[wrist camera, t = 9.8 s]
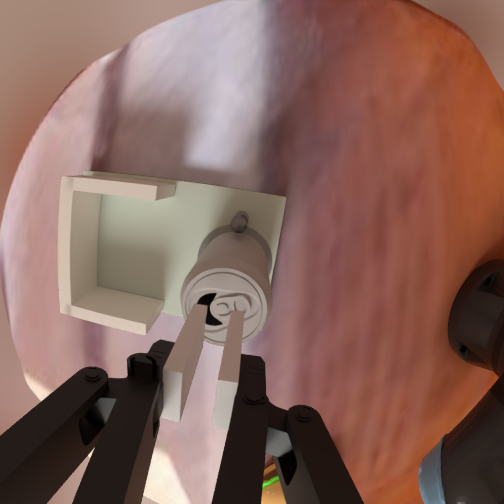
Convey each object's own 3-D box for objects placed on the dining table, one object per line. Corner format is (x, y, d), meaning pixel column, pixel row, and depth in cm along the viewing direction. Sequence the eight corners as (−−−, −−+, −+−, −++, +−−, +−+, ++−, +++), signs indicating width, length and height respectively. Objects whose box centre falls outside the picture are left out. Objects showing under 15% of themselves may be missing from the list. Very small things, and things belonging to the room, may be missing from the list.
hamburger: (306, 443, 40) (313, 486, 31) (337, 474, 42) (346, 512, 34) (239, 468, 41) (237, 509, 33) (277, 496, 44) (279, 533, 35)
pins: (249, 211, 31) (248, 218, 26) (233, 309, 33) (230, 330, 28) (235, 209, 31) (231, 215, 26) (220, 307, 33) (215, 328, 28)
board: (285, 196, 32) (286, 197, 30) (261, 324, 35) (261, 330, 34) (90, 170, 31) (83, 170, 30) (84, 289, 35) (78, 293, 33)
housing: (175, 184, 30) (157, 186, 24) (162, 310, 33) (145, 335, 27) (92, 175, 30) (61, 176, 24) (86, 292, 33) (60, 312, 27)
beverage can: (198, 235, 31) (165, 269, 20) (262, 225, 31) (265, 255, 19) (209, 295, 33) (187, 355, 21) (271, 286, 32) (278, 345, 21)
